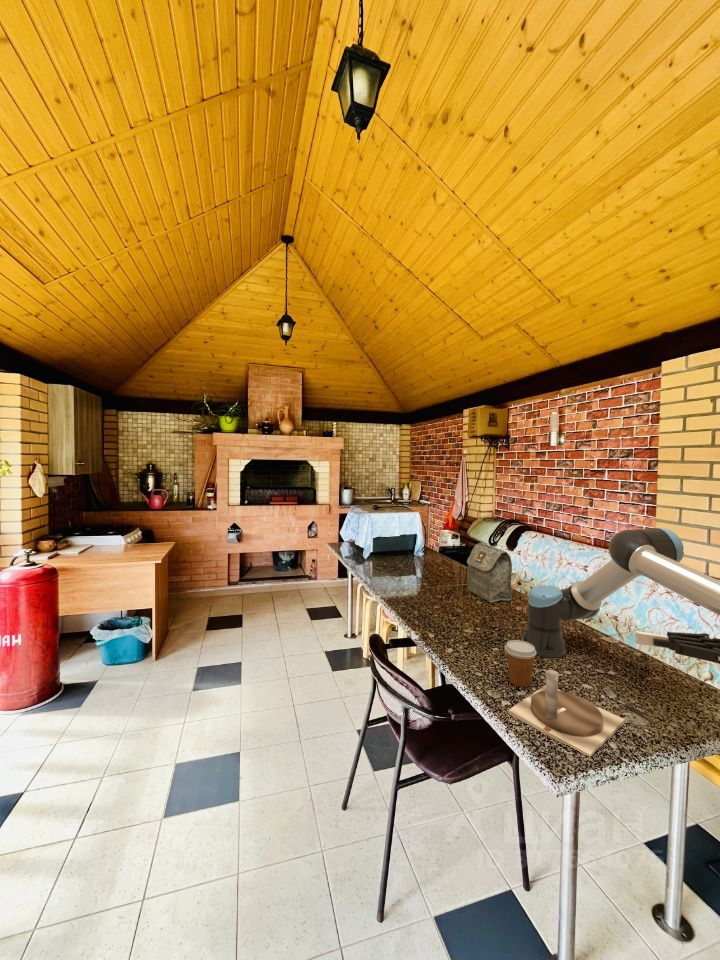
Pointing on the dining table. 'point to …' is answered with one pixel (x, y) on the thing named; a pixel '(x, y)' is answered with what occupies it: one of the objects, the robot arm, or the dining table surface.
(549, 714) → the dial
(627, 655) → the dining table surface
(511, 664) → the disposable coffee cup
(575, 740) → the dial base
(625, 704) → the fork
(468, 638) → the dining table surface
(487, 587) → the bag
